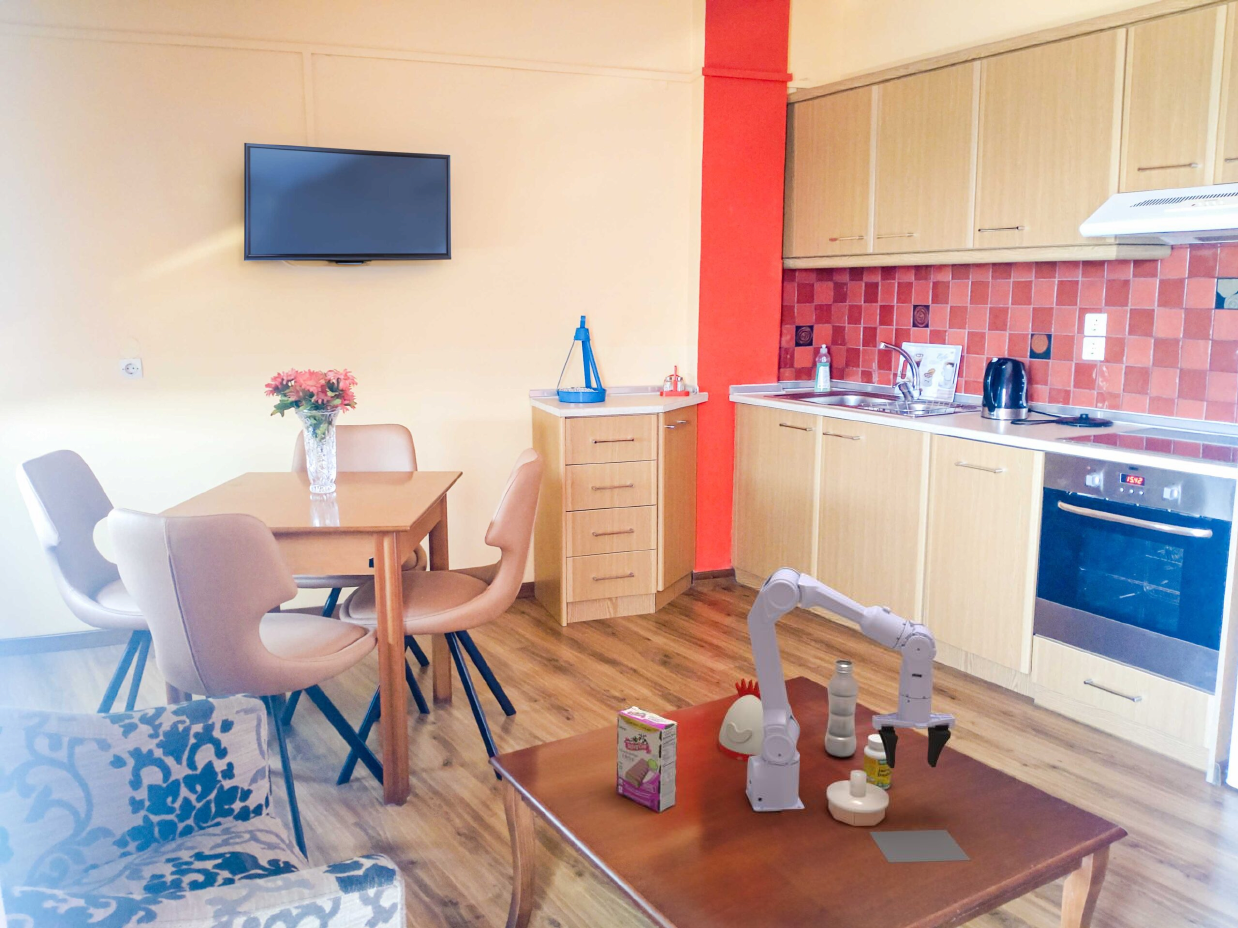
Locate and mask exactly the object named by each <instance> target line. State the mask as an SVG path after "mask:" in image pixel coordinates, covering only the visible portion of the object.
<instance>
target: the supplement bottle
mask: <svg viewBox="0 0 1238 928" xmlns="http://www.w3.org/2000/svg"><path fill="white" fill-rule="evenodd" d="M867 744H868V745H866V746H865V747H864V749H863V767H862V768H863V769H862V771H864V772H866V774H867V777H866V782H867V783H870V784H873V785H876V786H878V787H880V788H881V789H883V790H884V791H886V790H887V789H890V787H891V783H892V768H890V767H889V766H888V765H887V762H886V755H885V750H884V746H883V743H882V740H881V737H880V735H879V733H878V734H876V733H872V734H870V735H868V737H867Z"/></svg>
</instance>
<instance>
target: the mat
mask: <svg viewBox="0 0 1238 928" xmlns="http://www.w3.org/2000/svg"><path fill="white" fill-rule="evenodd" d="M868 834H869V835H870V837H871V838H872V839H873V841H874V843H876V845H877V847H878V848H879V850H880V852H881V853H882V855H883V856H884V858H885V859H886V861H887V862H888V864H895V863H897V864H898V863H926V862H927V863H930V862H931V863H932V862H936V863H937V862H962V861H963V862H964V861H968V862H969V861H971V859H970V858H969V856H968V855H967V853H966V852H965V851H964V850H963V849H962V847H961V846H960V845H959V844H958V843H957V841H956V840H955V839H954V838H953V837H952V835H951V834H950V833H949V832H948V830H947V829H933V830H931V829H927V830H924V829H923V830H895V831H893V830H892V831H891V830H890V831H887V830H886V831H869V832H868Z"/></svg>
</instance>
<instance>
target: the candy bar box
mask: <svg viewBox="0 0 1238 928" xmlns="http://www.w3.org/2000/svg"><path fill="white" fill-rule="evenodd" d="M616 728H617V734H616V735H617V737H616V738H617V745H616V750H617V751H616V794H618V795H620V796H622V797H624V798H627V799H629V800H631V801H633V802H635V803H638V804H640V805H642V806H643V807H644V806H645V807H646V808H648V809H651V810H653V811H655V812H657V813H663V812H664V811H666V810H668V809H669V808H672V807H673V806H675V805H676V793H677V791H676V790H677V786H676V785H677V751H678V750H677V747H678V722H676V721H674V720H671V719H669V718H666V717H663V716H661V715H658V714H656V713H653V712H650V711H649V710H648V711H647V710H645V709H642V708H641V707H637V706H635V705H633V706H631V707H628V708H625V709H623V710H620V711H618V712H617V727H616Z"/></svg>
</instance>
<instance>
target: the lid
mask: <svg viewBox="0 0 1238 928" xmlns="http://www.w3.org/2000/svg"><path fill="white" fill-rule="evenodd" d="M866 777H867V774H866V772H864V771H863V770H861V769H853V770H851V771H850V780H838V781H835V782H832V783H831V784H830V785H829V786H828V787H827V788H826V798H827V800H828V802H829V801H830V802H831V803H832V804H834V805H835V806H837V807H839V808H842V809H844V810H848V811H852V812H858V813H873V812H878V811H881V810H883V809H885V810H886V808H887V807H889V803H890V798H889V797H890V796H889V794H888V793H887V791H886V790H883V789H881V788H880V787H878V786H876V785H873V784H870V783H867V782H866Z"/></svg>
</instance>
